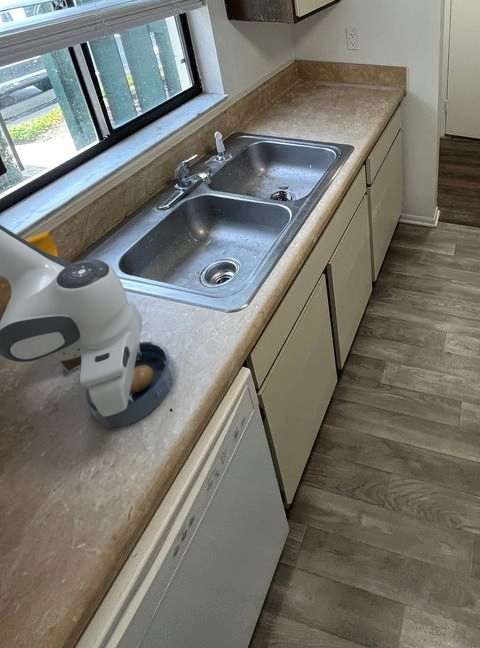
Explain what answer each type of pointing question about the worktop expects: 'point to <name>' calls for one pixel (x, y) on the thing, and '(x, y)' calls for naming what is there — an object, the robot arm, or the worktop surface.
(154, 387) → the bowl
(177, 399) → the worktop surface
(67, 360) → the cake slice
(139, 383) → the potato
